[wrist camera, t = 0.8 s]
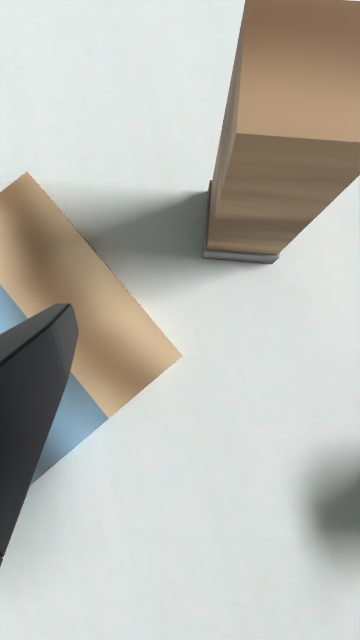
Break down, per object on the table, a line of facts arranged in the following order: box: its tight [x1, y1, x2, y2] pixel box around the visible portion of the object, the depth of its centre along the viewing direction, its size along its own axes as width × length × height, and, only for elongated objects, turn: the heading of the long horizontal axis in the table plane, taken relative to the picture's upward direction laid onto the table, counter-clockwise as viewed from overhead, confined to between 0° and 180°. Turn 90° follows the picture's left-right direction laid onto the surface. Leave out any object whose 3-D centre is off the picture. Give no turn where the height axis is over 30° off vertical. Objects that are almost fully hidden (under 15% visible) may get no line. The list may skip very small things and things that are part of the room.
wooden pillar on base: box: [203, 0, 360, 264], centre depth 16 cm, size 5×5×13 cm
